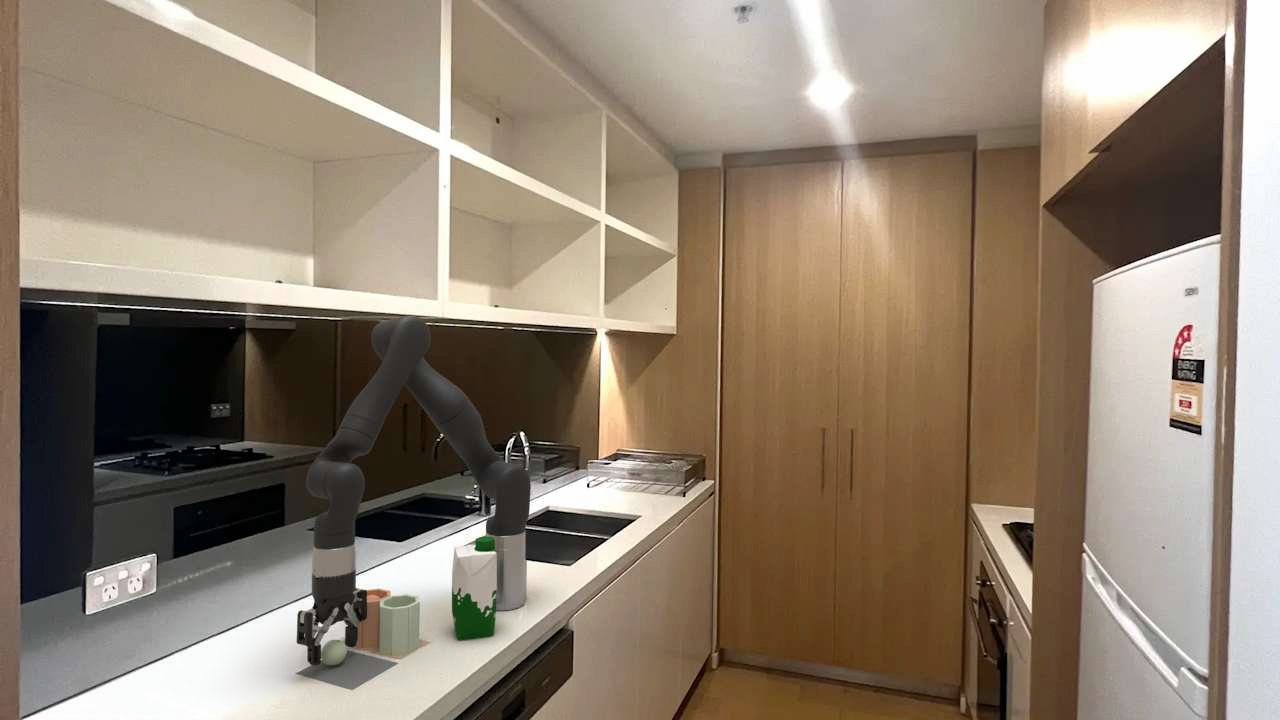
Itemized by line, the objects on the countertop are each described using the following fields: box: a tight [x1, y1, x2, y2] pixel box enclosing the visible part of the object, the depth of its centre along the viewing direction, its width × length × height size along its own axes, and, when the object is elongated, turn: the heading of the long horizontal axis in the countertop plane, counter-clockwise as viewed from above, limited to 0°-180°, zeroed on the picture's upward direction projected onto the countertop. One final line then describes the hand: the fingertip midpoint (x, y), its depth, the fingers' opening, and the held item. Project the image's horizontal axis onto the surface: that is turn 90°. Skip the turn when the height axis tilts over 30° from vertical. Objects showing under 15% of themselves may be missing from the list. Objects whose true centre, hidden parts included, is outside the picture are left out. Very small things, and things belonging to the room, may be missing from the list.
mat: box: [294, 649, 399, 691], centre depth 123 cm, size 11×14×1 cm
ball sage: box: [321, 639, 348, 666], centre depth 124 cm, size 4×4×4 cm
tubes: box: [342, 588, 431, 661], centre depth 133 cm, size 8×16×10 cm, turn 67°
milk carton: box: [451, 535, 497, 642], centre depth 139 cm, size 9×9×20 cm
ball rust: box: [367, 595, 381, 601], centre depth 136 cm, size 4×4×4 cm
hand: (333, 655), depth 124 cm, fingers open, 7 cm apart
